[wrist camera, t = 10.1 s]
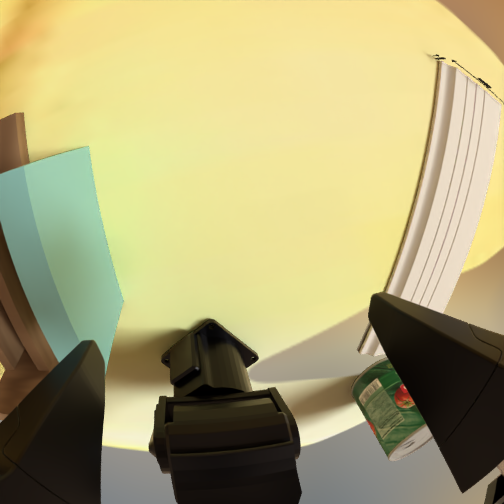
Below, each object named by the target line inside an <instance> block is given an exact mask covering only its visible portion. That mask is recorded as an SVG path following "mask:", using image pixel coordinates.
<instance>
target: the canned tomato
mask: <svg viewBox="0 0 504 504" xmlns="http://www.w3.org/2000/svg"><path fill="white" fill-rule="evenodd" d="M351 395H352V396H353V398H354V399H355V401H356V402H357V405H358V406H359V408H360V410H361V411H362V413H363V415H364V416H365V419H366V420H367V422H368V424H369V425H370V427H371V429H372V430H373V432H374V434H375V436H376V438H377V439H378V441H379V443H380V445H381V446H382V448H383V450H384V451H385V453H386V455H387V457H388V459H389V461H396V460H399V459H402V458H404V457H406V456H408V455H410V454H411V453H413V452H415V451H416V450H418V449H420V448H421V447H422V446H424V445H425V444H426V443H428V442H429V441H430V440H431V439H432V438H433V436H432V434H431V432H430V430H429V428H428V427H427V425H426V423H425V421H424V419H423V418H422V416H421V414H420V412H419V410H418V409H417V407H416V405H415V403H414V402H413V400H412V398H411V396H410V395H409V393H408V391H407V390H406V388H405V386H404V384H403V383H402V381H401V379H400V378H399V376H398V374H397V373H396V371H395V369H394V368H393V366H392V364H391V363H390V361H389V359H388V358H384V359H381V360H379V361H377V362H375V363H374V364H372V365H371V366H369V367H368V368H367V369H366V370H364V371H363V372H362V373H361V374H360V375H359V376H358V378H357V379H356V380H355V382H354V383H353V386H352V389H351Z"/></svg>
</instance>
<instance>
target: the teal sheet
mask: <svg viewBox="0 0 504 504" xmlns="http://www.w3.org/2000/svg"><path fill="white" fill-rule="evenodd" d="M0 221H1V225H2V229H3V232H4V236H5V239H6V242H7V245H8V249H9V252H10V255H11V258H12V261H13V263H14V266H15V269H16V272H17V274H18V277H19V280H20V282H21V285H22V287H23V290H24V292H25V295H26V297H27V299H28V302H29V304H30V306H31V309H32V311H33V313H34V315H35V317H36V319H37V322H38V324H39V326H40V328H41V330H42V332H43V334H44V336H45V338H46V340H47V342H48V343H49V345H50V347H51V349H52V351H53V353H54V355H55V356H56V358H57V360H58V362H60V361H61V360H63V359H64V358H65V357H66V356H67V355H68V354H69V353H70V352H71V351H72V350H73V349H74V348H75V347H76V346H77V345H78V344H79V343H80V342H81V341H83V340H94V341H95V342H96V343H97V345H98V347H99V349H100V352H101V354H102V356H103V358H104V361H105V375H106V370H107V365H108V361H109V356H110V352H111V348H112V343H113V339H114V335H115V331H116V327H117V324H118V320H119V316H120V312H121V309H122V305H123V302H124V300H123V297H122V294H121V290H120V287H119V284H118V280H117V277H116V274H115V270H114V266H113V263H112V259H111V255H110V252H109V248H108V244H107V240H106V236H105V231H104V227H103V223H102V218H101V213H100V209H99V204H98V199H97V194H96V188H95V183H94V177H93V171H92V164H91V158H90V151H89V146H87V147H83V148H79V149H75V150H71V151H68V152H64V153H60V154H57V155H54V156H50V157H47V158H44V159H41V160H38V161H35V162H32V163H29V164H26V165H23V166H20V167H18V168H15V169H12V170H9V171H7V172H4V173H2V174H0Z"/></svg>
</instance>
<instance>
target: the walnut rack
mask: <svg viewBox="0 0 504 504" xmlns="http://www.w3.org/2000/svg"><path fill="white" fill-rule="evenodd" d="M26 164H29V156H28V149H27V141H26V133H25V122H24V113H14V114H12V115H10V116H7V117H5V118H3V119H1V120H0V174H2V173H4V172H7V171H9V170H12V169H15V168H18V167H20V166H23V165H26ZM0 362H1V363H2V365H3V366H4V368H5V372H4V374H3V376H2V378H1V380H0V420H4V419H5V418H6V416H7V415H8V414H9V413H10V412H11V411H12V410H13V409H14V408H15V407H16V406H18V404H19V403H20V402H21V401H22V400H23V399H24V398H25V397H26V396H27V395H28V394H29V393H30V391H31V390H32V389H33V388H34V387H35V386H36V385H37V384H38V383H39V382H40V381H41V380H42V379H43V378H44V377H45V376H46V375H47V374H48V373H49V372H50V371H51V370H52V369H53V368H54V367H55V366H56V365H57V364H58V363H59V362H58V360H57V358H56V356H55V355H54V353H53V351H52V349H51V347H50V345H49V343H48V342H47V340H46V338H45V336H44V334H43V332H42V330H41V328H40V326H39V324H38V322H37V319H36V317H35V315H34V313H33V311H32V309H31V306H30V304H29V302H28V299H27V297H26V295H25V292H24V290H23V287H22V285H21V282H20V280H19V277H18V274H17V272H16V269H15V266H14V263H13V261H12V258H11V255H10V252H9V249H8V245H7V242H6V239H5V236H4V232H3V229H2V225H1V221H0Z"/></svg>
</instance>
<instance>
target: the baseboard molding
mask: <svg viewBox="0 0 504 504" xmlns="http://www.w3.org/2000/svg"><path fill="white" fill-rule="evenodd" d="M435 56H438V57H439V55H437V54H436V55H435ZM436 59H438V60H440V59H446V58H444V57H442V58H441V57H440V59H439V58H436ZM452 62H455V63H456V62H457V61H454V60H452ZM456 64H457V63H456ZM458 65H459V64H458ZM459 66H460V65H459ZM460 67H461V66H460ZM462 68H463V67H462ZM463 69H464V68H463ZM464 70H465V69H464ZM467 72H468V71H467ZM468 73H469V72H468ZM469 74H470V73H469ZM471 75H472V74H471ZM472 76H473V75H472ZM473 77H474V76H473ZM474 78H475V77H474ZM476 79H477V78H476ZM478 79H479V80H480V81H481V82H482V84H483V83H484V84H483V85H484V86H485V85H486V86H487V87H488V86H489V85H488V84H487V83H485V82H484V81H483V80H482V79H481V78H478ZM478 79H477V80H478ZM479 80H478V81H479ZM480 81H479V82H480ZM486 86H485V87H486ZM487 87H486V88H487ZM488 88H491V87H490V86H489V87H488ZM490 91H491V90H490ZM491 92H492V91H491ZM492 93H493V92H492ZM493 94H494V93H493ZM494 95H495V94H494ZM495 96H496V95H495ZM500 100H501V99H500ZM501 101H502V100H501ZM502 102H503V101H502ZM503 103H504V102H503ZM500 115H501V104H500V103H499V102H498V101H497V100H496V99H495V98H493V97H492V96H491V95H490V94H489V93H488V92H487V91H485V90H484V89H482V88H481V87H480V86H479V85H478V84H477V83H475V82H474V81H473V80H471V78H469V77H468V76H466V75H465V74H464V73H462V72H461V71H460V70H459V69H458V68H456V67H452V66H450V65H447V64H446V63H444V62H443V61H439V71H438V82H437V91H436V99H435V106H434V113H433V119H432V125H431V131H430V137H429V142H428V147H427V152H426V157H425V162H424V166H423V171H422V175H421V179H420V183H419V187H418V191H417V195H416V199H415V203H414V206H413V210H412V213H411V217H410V220H409V224H408V227H407V230H406V233H405V237H404V240H403V243H402V246H401V249H400V252H399V255H398V258H397V261H396V264H395V266H394V269H393V272H392V275H391V278H390V280H389V283H388V286H387V288H386V291H385V292H386V293H388V294H391V295H394V296H397V297H399V298H402V299H405V300H407V301H410V302H413V303H416V304H418V305H421V306H424V307H426V308H429V309H432V310H434V311H437V312H440V313H442V314H443V312H444V310H445V308H446V306H447V303H448V301H449V299H450V297H451V294H452V292H453V290H454V287H455V285H456V283H457V280H458V278H459V276H460V273H461V271H462V268H463V266H464V263H465V260H466V258H467V255H468V252H469V250H470V247H471V244H472V241H473V238H474V235H475V232H476V229H477V226H478V222H479V219H480V216H481V212H482V209H483V205H484V201H485V198H486V194H487V190H488V185H489V181H490V177H491V172H492V167H493V162H494V157H495V151H496V145H497V139H498V132H499V124H500ZM357 351H358V352H359V353H360V354H369V355H372V356H378V355H382V354H385V352H384V350H383V348H382V346H381V344H380V342H379V340H378V338H377V336H376V334H375V331H374V329H373V327H372V325H371V323H370V321H369V323H368V325H367V328H366V330H365V332H364V334H363V337H362V339H361V341H360V344H359V346H358V348H357Z"/></svg>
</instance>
